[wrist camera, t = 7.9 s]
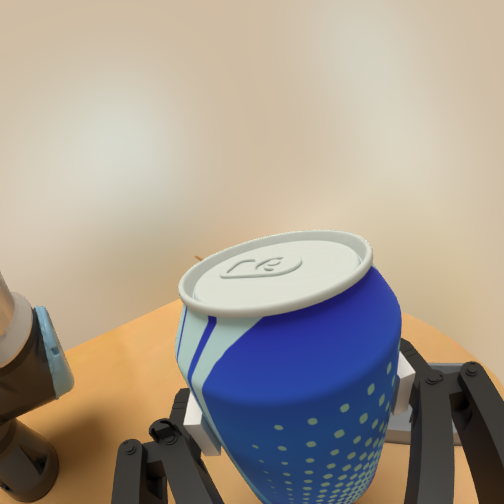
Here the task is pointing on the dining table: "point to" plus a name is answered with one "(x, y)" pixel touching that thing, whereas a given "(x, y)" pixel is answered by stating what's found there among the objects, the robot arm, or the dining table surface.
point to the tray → (400, 423)
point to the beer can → (293, 361)
